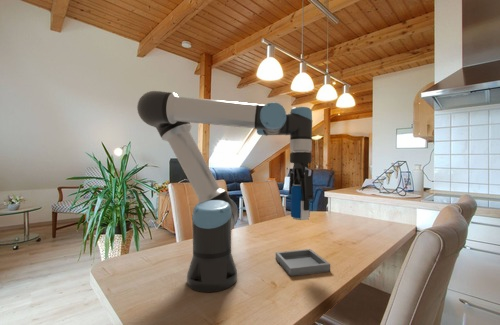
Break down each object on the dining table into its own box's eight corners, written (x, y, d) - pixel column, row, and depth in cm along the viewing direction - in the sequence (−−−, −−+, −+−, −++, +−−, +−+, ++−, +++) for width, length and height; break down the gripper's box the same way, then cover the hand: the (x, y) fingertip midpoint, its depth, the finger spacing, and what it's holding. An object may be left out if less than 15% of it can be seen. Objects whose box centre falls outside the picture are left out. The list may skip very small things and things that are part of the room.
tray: (290, 276, 75) (290, 268, 75) (275, 259, 89) (275, 252, 89) (330, 271, 78) (330, 263, 78) (310, 255, 92) (310, 248, 92)
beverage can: (310, 221, 81) (310, 185, 81) (290, 220, 82) (291, 185, 82) (308, 216, 87) (309, 184, 87) (290, 216, 88) (291, 183, 88)
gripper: (325, 151, 76) (324, 223, 76) (298, 153, 95) (297, 211, 95) (304, 150, 74) (303, 224, 74) (280, 152, 93) (279, 212, 93)
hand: (299, 217), depth 85 cm, fingers closed on beverage can, 6 cm apart
